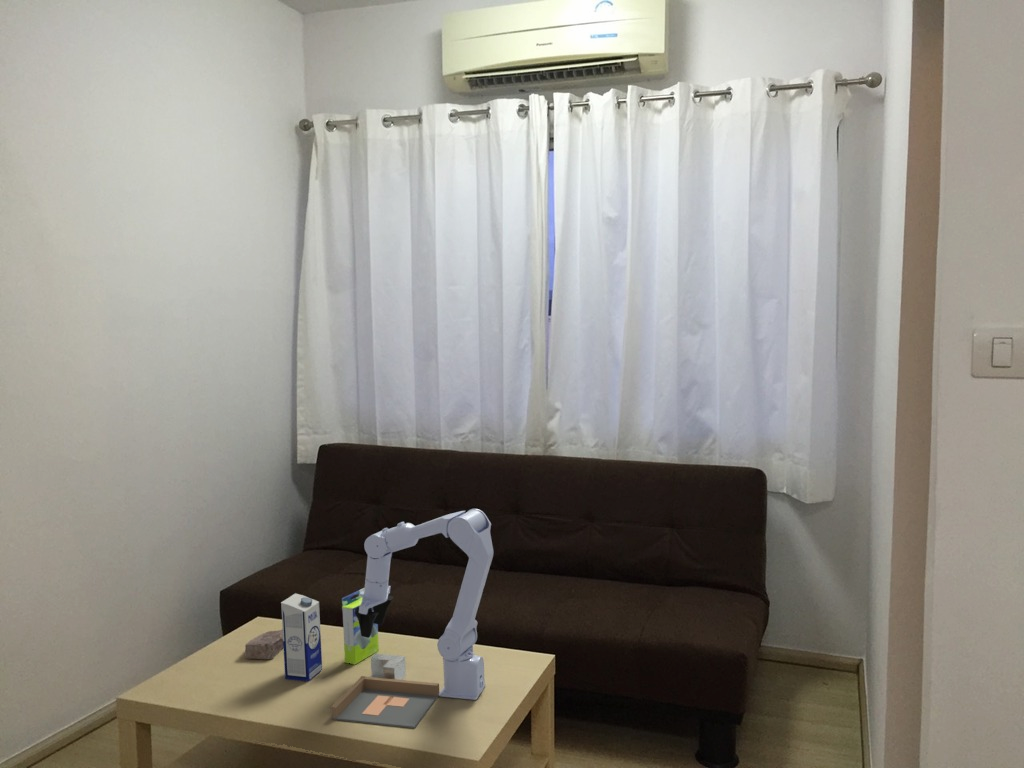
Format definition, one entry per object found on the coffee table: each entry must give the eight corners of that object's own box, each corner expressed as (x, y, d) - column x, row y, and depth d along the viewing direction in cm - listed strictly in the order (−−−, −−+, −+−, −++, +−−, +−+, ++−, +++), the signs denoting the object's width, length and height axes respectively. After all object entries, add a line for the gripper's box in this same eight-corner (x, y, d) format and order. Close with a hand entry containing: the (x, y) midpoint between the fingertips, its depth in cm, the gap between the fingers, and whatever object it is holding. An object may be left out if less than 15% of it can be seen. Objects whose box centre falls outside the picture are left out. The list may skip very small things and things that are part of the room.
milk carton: (299, 667, 212) (295, 592, 210) (322, 669, 210) (319, 594, 209) (284, 679, 205) (280, 601, 204) (308, 681, 204) (304, 603, 202)
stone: (259, 643, 229) (258, 626, 229) (290, 643, 229) (289, 627, 228) (242, 661, 218) (241, 644, 217) (275, 661, 217) (274, 644, 217)
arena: (439, 695, 194) (439, 683, 194) (414, 728, 179) (414, 715, 179) (362, 687, 199) (361, 676, 199) (331, 719, 184) (331, 707, 184)
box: (355, 665, 212) (352, 600, 211) (342, 662, 214) (339, 598, 213) (380, 650, 221) (377, 588, 220) (368, 647, 223) (365, 586, 222)
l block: (405, 675, 206) (405, 656, 205) (395, 687, 199) (394, 668, 198) (376, 672, 208) (375, 653, 207) (364, 684, 201) (363, 665, 200)
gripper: (374, 565, 211) (369, 615, 213) (349, 585, 197) (344, 638, 199) (399, 571, 209) (394, 621, 211) (376, 591, 195) (371, 644, 197)
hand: (372, 630), depth 205 cm, fingers open, 7 cm apart
